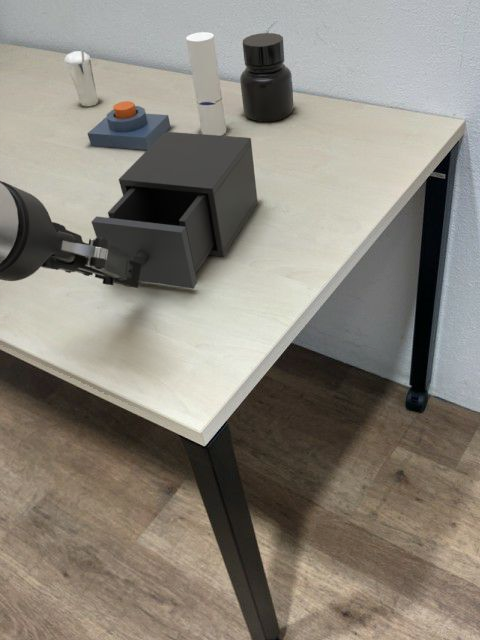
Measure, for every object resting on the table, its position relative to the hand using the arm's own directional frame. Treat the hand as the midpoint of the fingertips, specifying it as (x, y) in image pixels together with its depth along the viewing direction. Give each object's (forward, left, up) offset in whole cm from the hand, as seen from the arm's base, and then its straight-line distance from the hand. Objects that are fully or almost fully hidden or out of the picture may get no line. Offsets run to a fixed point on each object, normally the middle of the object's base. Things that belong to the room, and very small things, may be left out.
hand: (133, 275), depth 70 cm
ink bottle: (-2, +55, -4) cm, 55 cm away
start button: (-23, +42, -1) cm, 48 cm away
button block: (-23, +42, -4) cm, 48 cm away
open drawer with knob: (0, +8, -3) cm, 9 cm away
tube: (-9, +46, -4) cm, 47 cm away
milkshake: (-38, +54, -4) cm, 66 cm away
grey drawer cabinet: (0, +18, -4) cm, 18 cm away
